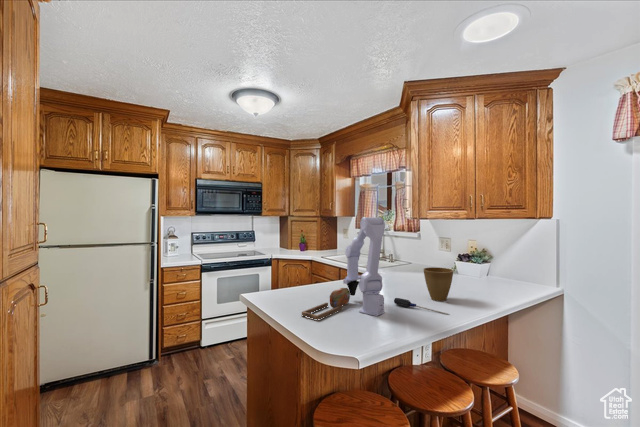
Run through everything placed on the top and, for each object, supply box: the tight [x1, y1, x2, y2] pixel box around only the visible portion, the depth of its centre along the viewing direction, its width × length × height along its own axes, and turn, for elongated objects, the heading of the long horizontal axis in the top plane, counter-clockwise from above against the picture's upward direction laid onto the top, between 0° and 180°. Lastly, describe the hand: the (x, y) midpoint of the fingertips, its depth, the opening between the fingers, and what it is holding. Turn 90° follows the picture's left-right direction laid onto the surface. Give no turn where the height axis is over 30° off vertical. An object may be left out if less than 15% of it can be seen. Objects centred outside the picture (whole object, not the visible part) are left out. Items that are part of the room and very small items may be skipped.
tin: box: [329, 287, 351, 309], centre depth 147 cm, size 15×3×8 cm, turn 143°
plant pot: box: [423, 266, 454, 302], centre depth 159 cm, size 15×15×16 cm
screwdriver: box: [393, 297, 451, 316], centre depth 142 cm, size 26×4×4 cm, turn 55°
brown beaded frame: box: [301, 302, 343, 320], centre depth 136 cm, size 9×18×2 cm, turn 141°
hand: (352, 295), depth 156 cm, fingers closed
